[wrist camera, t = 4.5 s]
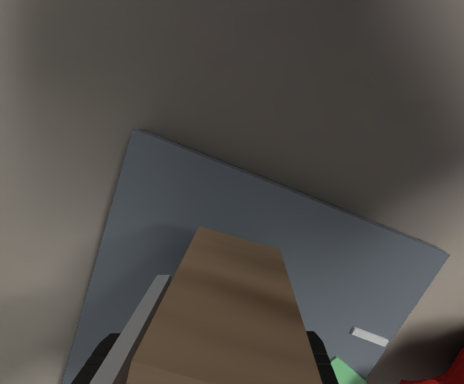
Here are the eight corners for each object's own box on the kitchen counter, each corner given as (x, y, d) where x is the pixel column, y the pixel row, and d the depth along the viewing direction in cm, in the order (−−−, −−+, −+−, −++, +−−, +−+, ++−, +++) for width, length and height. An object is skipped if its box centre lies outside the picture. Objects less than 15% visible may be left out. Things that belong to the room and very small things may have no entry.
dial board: (141, 129, 15) (131, 128, 13) (435, 246, 15) (453, 256, 14) (67, 386, 20) (54, 404, 18) (291, 464, 20) (295, 487, 19)
